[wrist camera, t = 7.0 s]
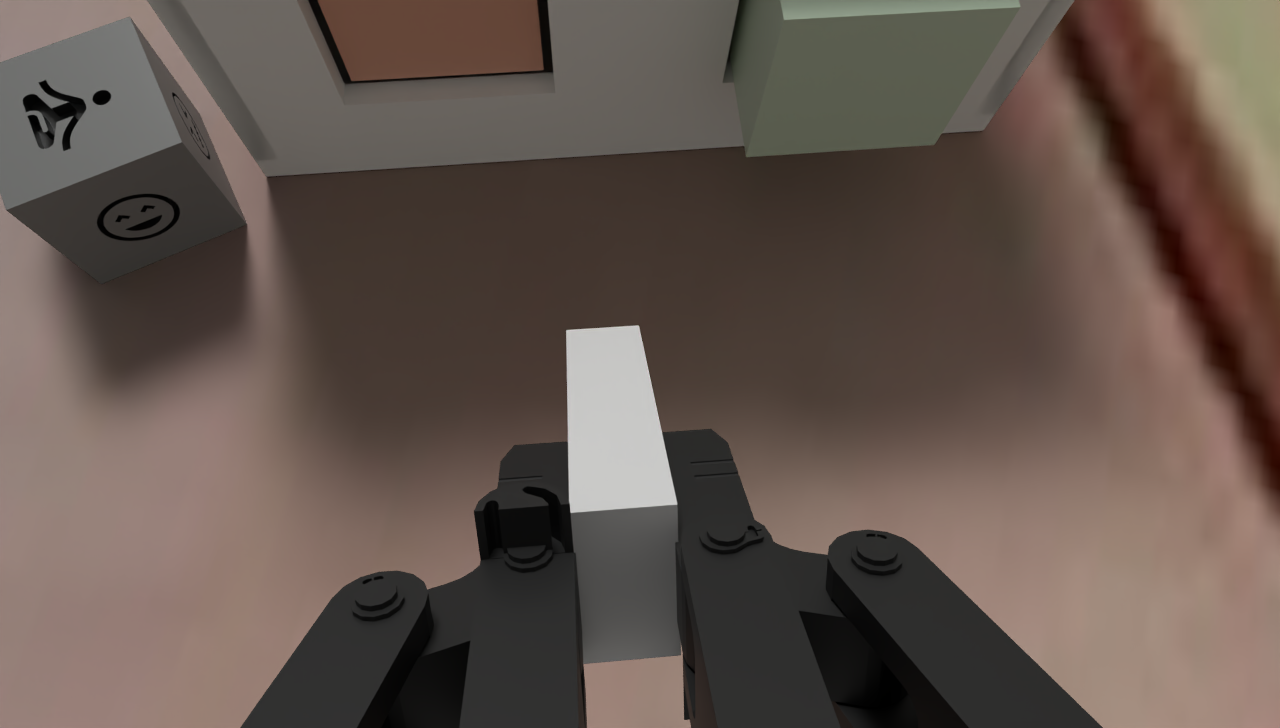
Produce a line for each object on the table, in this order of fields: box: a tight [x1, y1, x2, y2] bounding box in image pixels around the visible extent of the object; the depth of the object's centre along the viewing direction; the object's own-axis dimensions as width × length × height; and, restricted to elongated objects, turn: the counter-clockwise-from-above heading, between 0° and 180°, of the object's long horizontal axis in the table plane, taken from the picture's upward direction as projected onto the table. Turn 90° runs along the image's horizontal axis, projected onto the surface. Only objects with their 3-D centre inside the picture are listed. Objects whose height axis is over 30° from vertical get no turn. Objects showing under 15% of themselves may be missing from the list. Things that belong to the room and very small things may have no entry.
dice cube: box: [0, 17, 247, 284], centre depth 28 cm, size 5×5×5 cm
